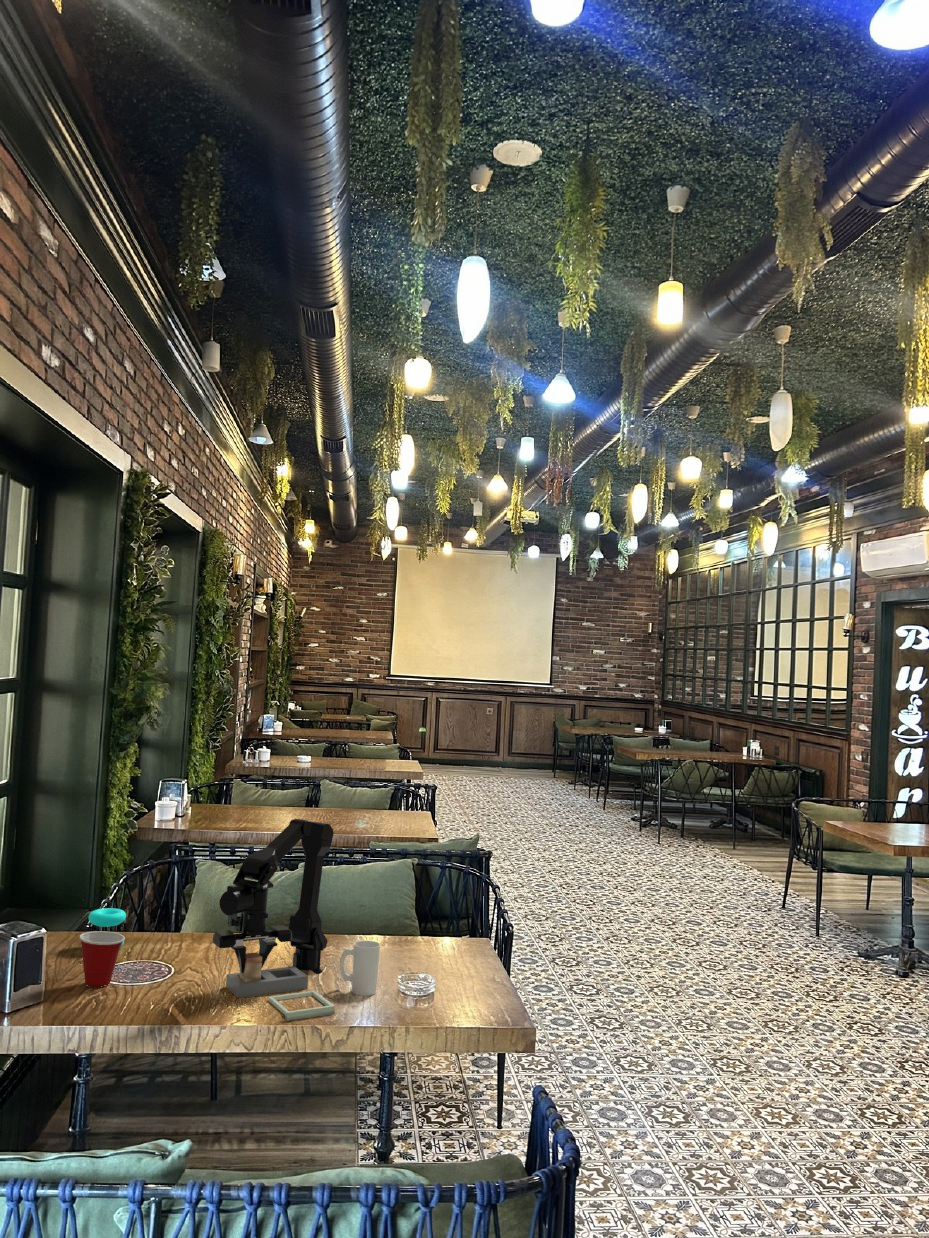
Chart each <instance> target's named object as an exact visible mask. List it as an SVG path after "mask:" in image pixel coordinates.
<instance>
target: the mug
mask: <svg viewBox="0 0 929 1238" xmlns="http://www.w3.org/2000/svg"><path fill="white" fill-rule="evenodd" d="M380 950H381V943H379V942H377V941H373V940H358V941H355V942H354V943H353V949H350V947H349V948H348V947H345V948H344V951H343V952H342V954H341V956H340V959H339V970H340V974H341V976H342V979H343V981H345V982H347V981H348V982H351V993H352V994H353V995H356V996H360V997H367V996H368V997H370V996H373V995H376V993H377V987H378V986H377V985H378V979H379V978H378V977H379V976H378V975H379V963H380V952H381V951H380ZM349 955H350V956H352V959H353V960H352V973H351V974H348V973H347V972H346V970H345V966H344V963H345V959H346V958H347V956H349Z"/></svg>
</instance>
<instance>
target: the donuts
mask: <svg viewBox="0 0 929 1238" xmlns="http://www.w3.org/2000/svg"><path fill="white" fill-rule="evenodd" d="M126 918H127V913H126V912H125V911H124V910H123V909H120V908H114V907H113V908H112V907H108V908H107V907H106V908H104V907H103V908H98V909H94V910H91V912H90V913H89V914H88V918H87V919H88V921H89V923H90V924H92V925H94V926H95V927H103V928H104V927H106V928H108V927H115V926H118V925H120V924H123V922H124V921H125V920H126ZM113 932H114V933H116V932H115V931H113ZM124 943H125V940H124V941H123V943H122V945H121V947H123V945H124Z"/></svg>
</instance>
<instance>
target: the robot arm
mask: <svg viewBox="0 0 929 1238" xmlns="http://www.w3.org/2000/svg"><path fill="white" fill-rule="evenodd" d="M334 833H335V832H334V828H333V827H332V826H331V824H330V823H325V822H318V821H309V820H307V819H301V818H294V819H291V820H290V822H289V824H288V826H286V827H285V828H284V829H283V830H281V832H280V833H279V834H278V835H277V836H276V837H275V838H273V840H271V842H270V843H268V845H266V847H264V848H262V849H259V850H255V851H254V852H252V853H251V854H249V855H248V856H247V857H245V859H244V860H243V861H242V864H241V866H240V869H238V872H237V873H236V875H235V878H234V880H233V882H232V884H231V885H227V886H226V887H227V888H226V891H225V892H222V894H221V895H220V898H219V908H220V910H221V912H222V913H223V914H224V915H226V916H227V927H228V928H234V932H240V933H234V932H233V931H231V930H230V929H228V930H217V931H215V932H214V934H213V936H212V937H213V938H212V944H214V946H216V947H217V948H219V949H232V950H233V951H234V953H235V955H236V958H237V959H236V960H237V963H238V966H239V972H240V971H241V973H244V969H245V957H246V953H247V947H246V946H245V945H244V942H248V941H250V942H251V941H257V940H258V942H259V943H258V944H259V950H258V954H259V955H261V956H262V968H261V970H263V967H264V965H265V963H266V961H267V959H268V957H269V955H270V954H271V952H272V951H273V949H274V948H275V947H277V946H278V942H276V940H278V941H279V943H287V942H290V947H294V948H295V951H294V952H293V956H292V966H295V967H296V968H297V969H299V970H300V971H311V972H313V973H314V974H316V973H317V974H319V973H322V972H323V969H322V968H321V956H322V951H324V949H326V948H327V944H328V941H329V940H328V938H327V937H326V935H325V934H324V932H323V931H322V919H321V916H320V914H319V911H318V904H319V897H320V889H321V881H322V874H323V866H324V865H323V864H324V857H325V855H326V854H327V852H328V851H329V850H330V849H331V847H332V842H333V838H334ZM299 842H300V843H301V847H302V849H303V852H304V854H305V855H304V856H305V857H304V865H303V870H302V871H303V872H302V880H301V887H300V888H301V889H300V896H299V902H298V903H299V904H298V909H297V910H296V912H295V913H294V915H290V917H289V922H288V923H289V924H288V926H285V925H284V924H282V925H280V924H279V925H272V926H270V928H269V930H267V929H266V925H267V924H266V923H267V919H268V918H269V913H267V910H268V895H269V889H271V888H274V884H273V882H272V881H271V879H272V877H273V876H274V875H275V874H276V872H277V871H278V867H279V863H280V861H282V859H283V858H284V857H285V856H286V855H287V854H288V853H289V852H290V851H291V850H292V849H293V848H294V847H295V846H296V845H297V844H298V843H299ZM238 914H240V915H239V916H238Z"/></svg>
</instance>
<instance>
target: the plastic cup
mask: <svg viewBox="0 0 929 1238" xmlns="http://www.w3.org/2000/svg"><path fill="white" fill-rule="evenodd" d="M114 932H115V931H103V930H102V931H100V930H99V931H98V930H95V931H86V932H83V933H81V934H79V940H80V942H81V950H82V952H81V953H82V963H83V964H82V966H83V967H82V968H83V973H84V983H85V986H86V985H88V986H90V987H89V988H91V987H100V988H102V987H101V986H104V985H108V984H109V983H110V984H111V981H112V979H113V978H112V977H113V973H114V970H115V967H116V965H117V960H118V959H117V958H118V956H119V952H120V949H121V947H122V946H123V945H122V943H123V941H124V942H125V940H126V937H125V935H123V934H121V933H118V932H115V933H114ZM123 944H124V943H123ZM121 945H122V946H121ZM110 984H109V985H110ZM109 985H108V986H109Z"/></svg>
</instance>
